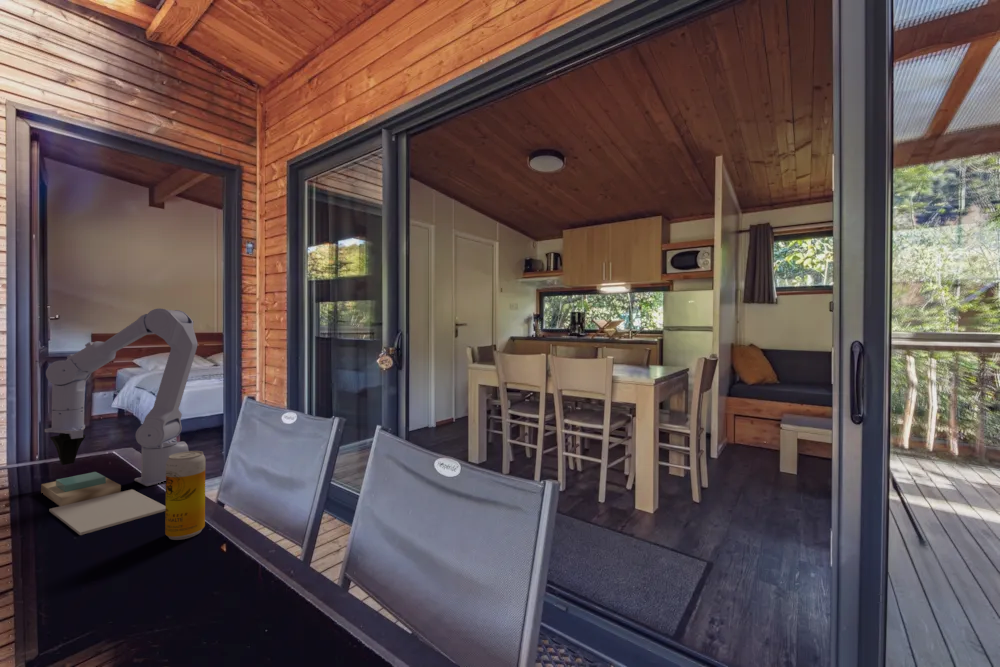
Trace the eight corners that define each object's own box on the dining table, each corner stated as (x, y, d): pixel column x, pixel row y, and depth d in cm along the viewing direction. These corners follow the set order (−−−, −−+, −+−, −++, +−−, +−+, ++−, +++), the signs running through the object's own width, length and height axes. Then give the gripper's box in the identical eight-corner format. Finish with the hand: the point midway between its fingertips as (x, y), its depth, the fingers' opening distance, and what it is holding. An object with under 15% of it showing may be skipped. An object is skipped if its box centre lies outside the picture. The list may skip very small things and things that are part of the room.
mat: (132, 491, 103) (132, 489, 103) (168, 509, 93) (168, 507, 93) (49, 511, 92) (49, 508, 92) (80, 535, 81) (80, 532, 81)
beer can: (157, 538, 80) (157, 457, 80) (189, 524, 86) (189, 449, 86) (181, 543, 78) (182, 460, 78) (212, 529, 84) (213, 451, 84)
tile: (95, 477, 107) (95, 471, 107) (105, 483, 103) (105, 476, 103) (55, 486, 101) (55, 479, 101) (65, 492, 97) (65, 485, 97)
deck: (97, 480, 111) (97, 472, 111) (120, 493, 102) (120, 485, 102) (41, 492, 102) (41, 484, 102) (61, 507, 94) (61, 498, 94)
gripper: (37, 408, 108) (36, 462, 108) (54, 414, 100) (53, 473, 100) (75, 404, 114) (74, 456, 114) (94, 410, 106) (93, 465, 106)
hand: (67, 463), depth 107 cm, fingers closed
